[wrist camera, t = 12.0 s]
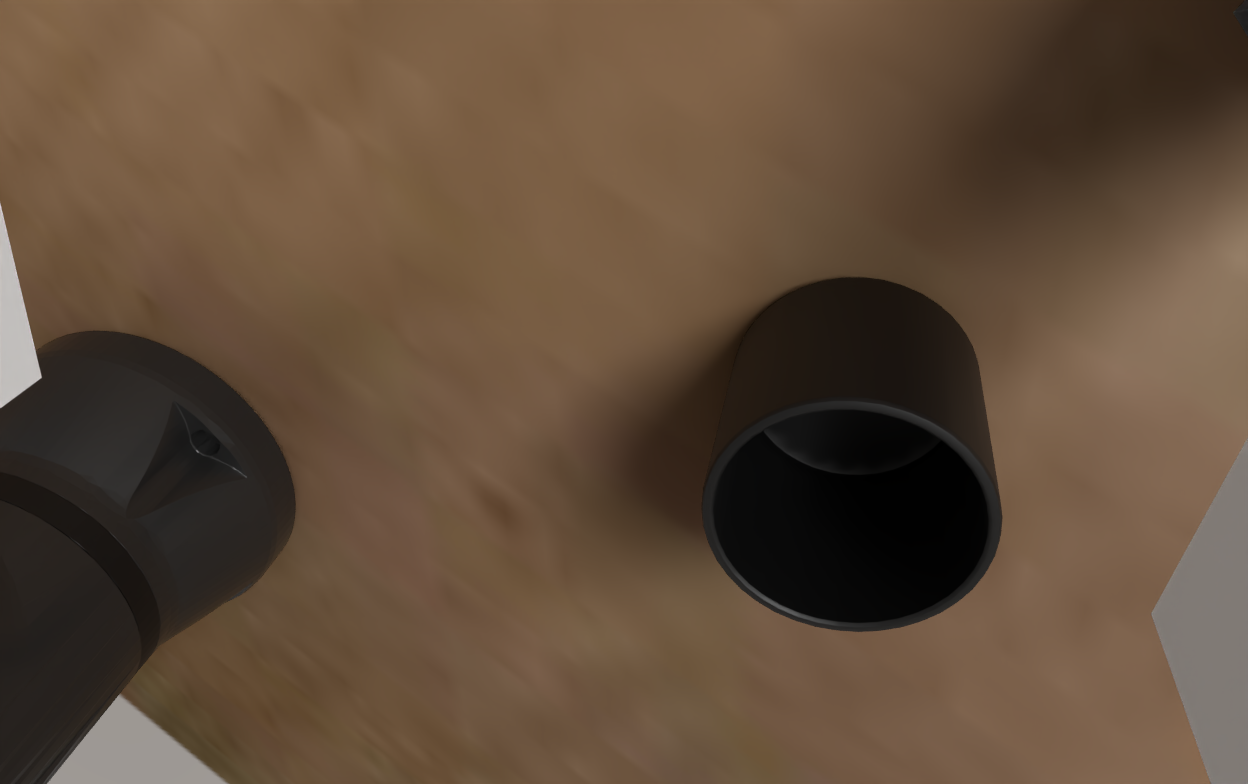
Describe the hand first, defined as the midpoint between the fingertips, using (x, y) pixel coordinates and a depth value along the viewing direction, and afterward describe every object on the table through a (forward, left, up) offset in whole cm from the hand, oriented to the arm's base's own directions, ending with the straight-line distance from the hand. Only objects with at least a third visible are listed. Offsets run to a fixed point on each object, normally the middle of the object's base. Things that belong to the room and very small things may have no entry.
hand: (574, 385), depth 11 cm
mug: (+6, -15, -27) cm, 31 cm away
